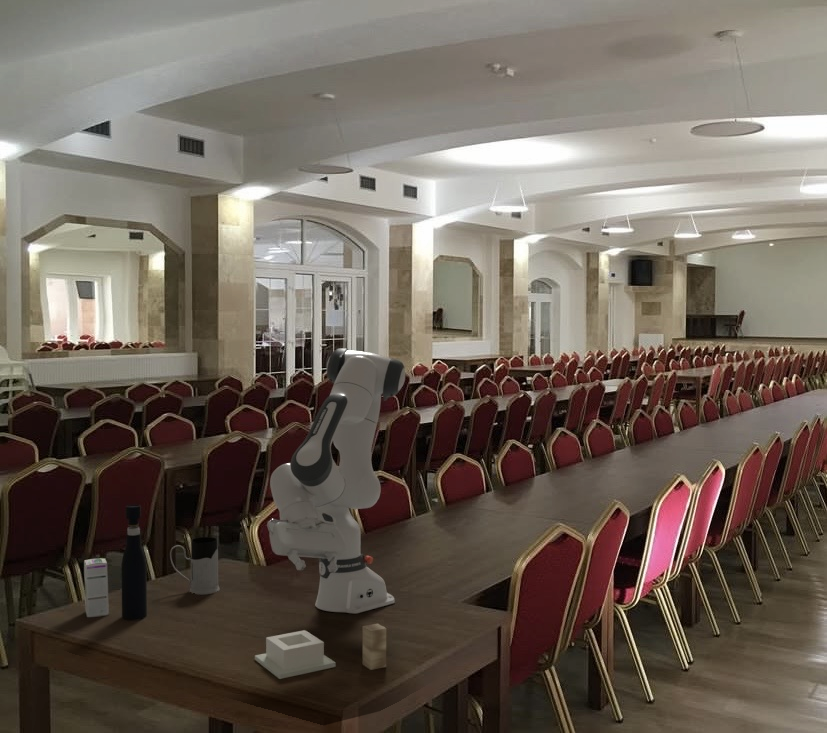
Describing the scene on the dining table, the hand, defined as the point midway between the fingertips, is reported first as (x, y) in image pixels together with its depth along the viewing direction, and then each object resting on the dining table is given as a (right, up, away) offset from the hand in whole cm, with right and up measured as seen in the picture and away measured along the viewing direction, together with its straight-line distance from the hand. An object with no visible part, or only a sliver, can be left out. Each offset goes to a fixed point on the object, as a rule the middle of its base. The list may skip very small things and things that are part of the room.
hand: (318, 569), depth 217 cm
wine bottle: (-53, -20, +32) cm, 65 cm away
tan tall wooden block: (+13, -22, -3) cm, 25 cm away
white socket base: (-5, -21, -1) cm, 22 cm away
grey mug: (-42, -19, +57) cm, 73 cm away
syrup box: (-64, -20, +35) cm, 75 cm away
